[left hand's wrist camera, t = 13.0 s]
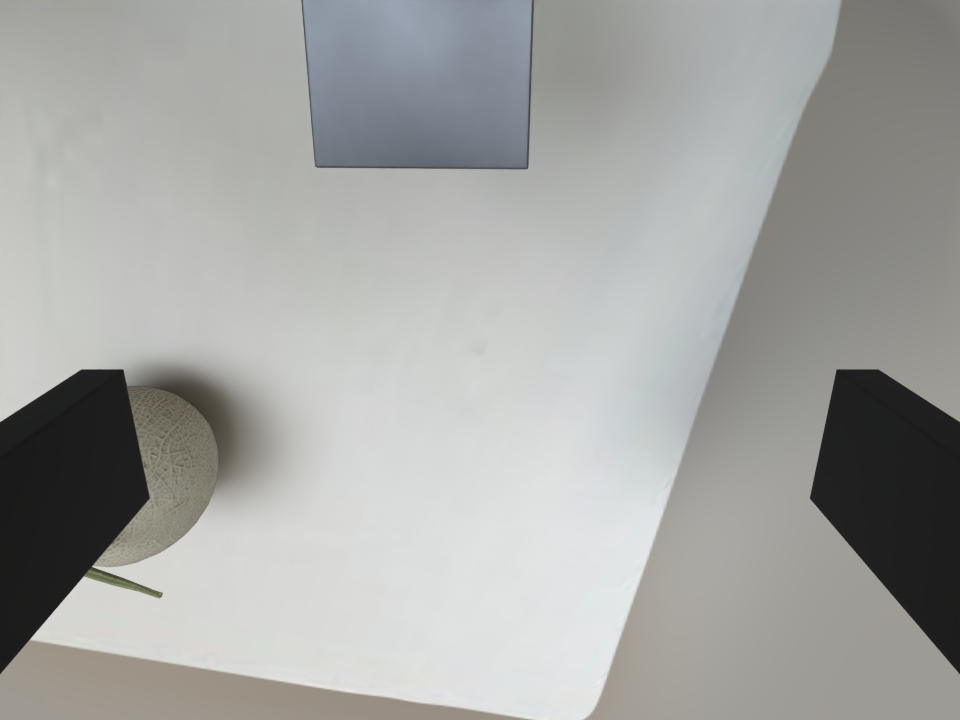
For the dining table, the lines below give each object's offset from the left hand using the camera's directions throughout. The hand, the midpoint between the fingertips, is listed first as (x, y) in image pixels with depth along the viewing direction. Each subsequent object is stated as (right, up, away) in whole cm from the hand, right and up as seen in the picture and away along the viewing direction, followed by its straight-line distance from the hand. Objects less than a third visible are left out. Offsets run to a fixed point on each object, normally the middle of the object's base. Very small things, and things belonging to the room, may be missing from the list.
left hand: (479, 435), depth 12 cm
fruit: (-23, -4, +35) cm, 41 cm away
